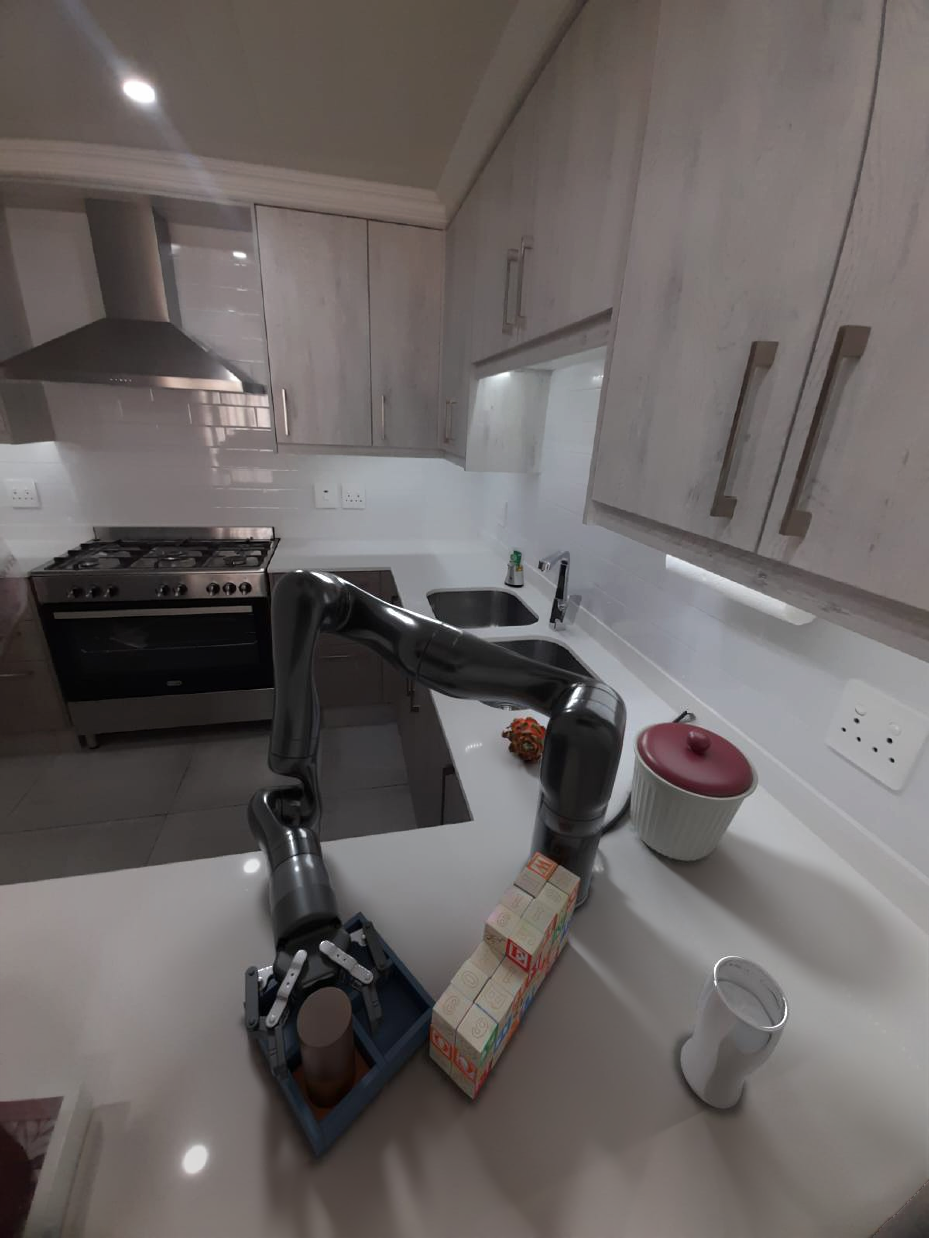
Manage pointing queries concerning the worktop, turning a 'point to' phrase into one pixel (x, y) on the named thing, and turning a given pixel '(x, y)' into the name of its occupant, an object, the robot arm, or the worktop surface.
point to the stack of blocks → (503, 973)
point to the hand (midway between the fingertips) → (331, 1052)
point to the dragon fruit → (526, 738)
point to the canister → (686, 788)
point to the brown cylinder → (327, 1046)
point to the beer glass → (733, 1030)
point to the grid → (357, 1043)
